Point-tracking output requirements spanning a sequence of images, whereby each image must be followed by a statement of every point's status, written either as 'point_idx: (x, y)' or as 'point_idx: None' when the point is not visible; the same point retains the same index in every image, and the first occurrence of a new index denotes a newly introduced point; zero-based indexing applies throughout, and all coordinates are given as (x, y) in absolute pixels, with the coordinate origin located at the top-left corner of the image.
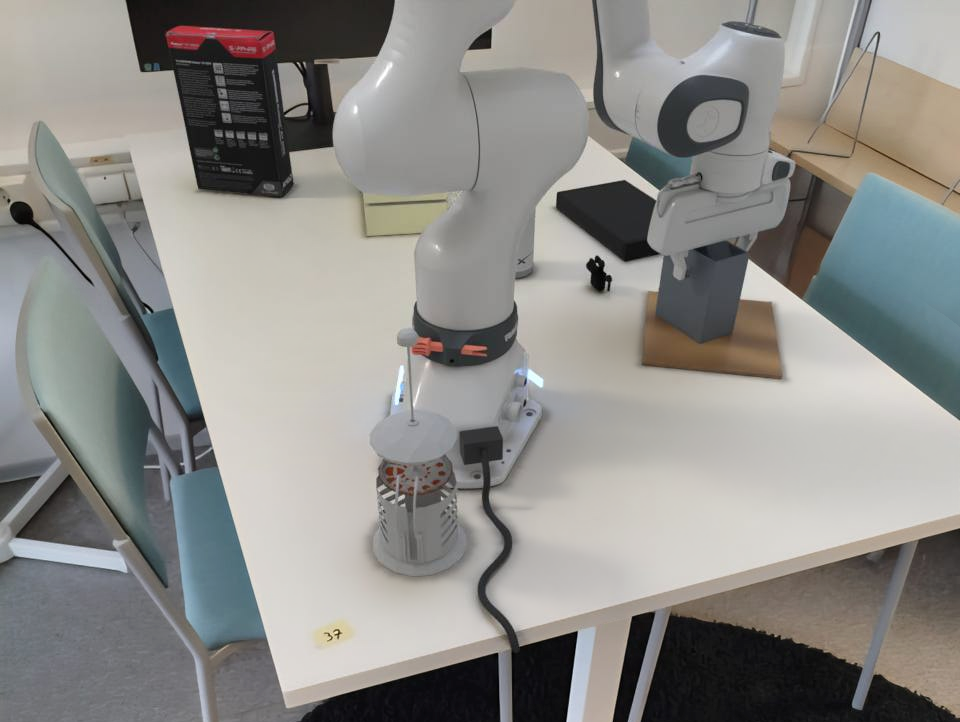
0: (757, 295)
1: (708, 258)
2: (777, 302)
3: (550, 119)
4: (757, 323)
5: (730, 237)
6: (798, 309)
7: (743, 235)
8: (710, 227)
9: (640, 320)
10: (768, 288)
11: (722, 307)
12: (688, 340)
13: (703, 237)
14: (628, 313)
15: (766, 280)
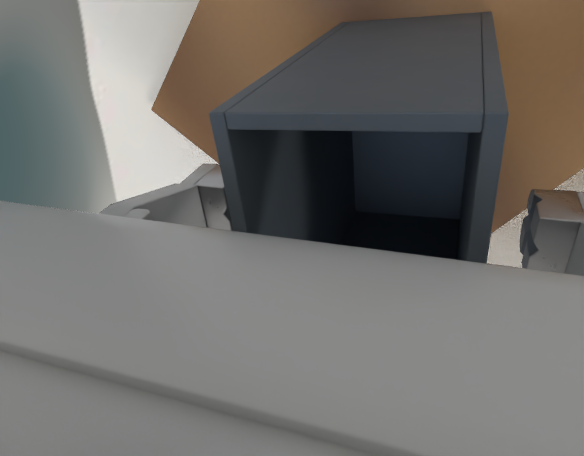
0: (164, 158)
1: (484, 188)
2: (136, 108)
3: None
4: (240, 34)
5: (276, 240)
6: (103, 54)
7: (180, 224)
8: (494, 371)
9: (516, 226)
10: (128, 168)
11: (396, 40)
12: (505, 52)
13: (561, 320)
14: (514, 266)
15: (118, 194)
